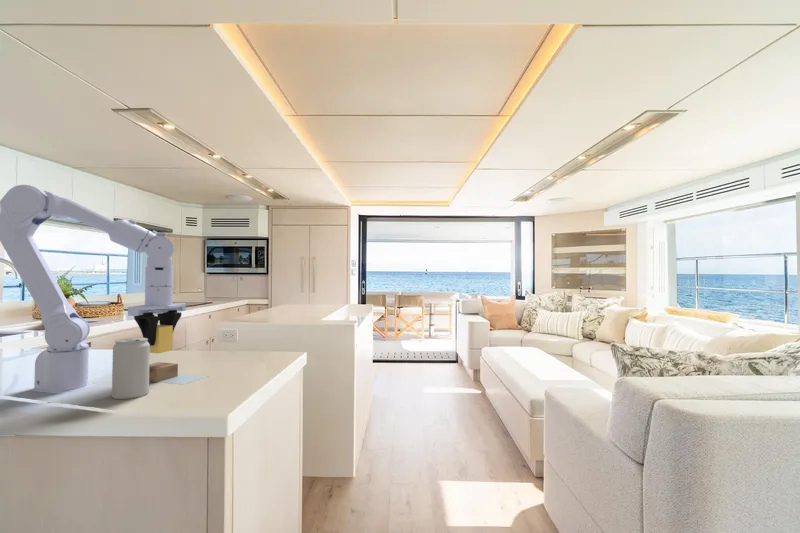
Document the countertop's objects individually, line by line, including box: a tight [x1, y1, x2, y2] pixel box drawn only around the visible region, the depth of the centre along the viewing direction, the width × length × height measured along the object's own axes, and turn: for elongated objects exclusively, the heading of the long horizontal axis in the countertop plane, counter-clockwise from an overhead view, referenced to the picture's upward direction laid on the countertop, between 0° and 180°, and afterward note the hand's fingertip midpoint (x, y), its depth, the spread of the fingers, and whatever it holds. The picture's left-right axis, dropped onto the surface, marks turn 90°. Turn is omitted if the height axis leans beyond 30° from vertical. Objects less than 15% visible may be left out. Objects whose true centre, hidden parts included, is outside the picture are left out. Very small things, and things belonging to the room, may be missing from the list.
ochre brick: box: [150, 324, 174, 354], centre depth 98 cm, size 4×4×6 cm
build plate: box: [159, 372, 209, 385], centre depth 98 cm, size 12×8×1 cm, turn 74°
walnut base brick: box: [149, 361, 179, 383], centre depth 98 cm, size 6×6×3 cm
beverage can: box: [111, 337, 151, 400], centre depth 85 cm, size 6×6×12 cm
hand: (158, 343), depth 98 cm, fingers closed on ochre brick, 4 cm apart
